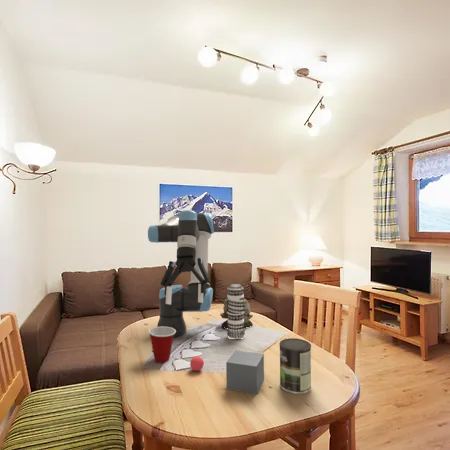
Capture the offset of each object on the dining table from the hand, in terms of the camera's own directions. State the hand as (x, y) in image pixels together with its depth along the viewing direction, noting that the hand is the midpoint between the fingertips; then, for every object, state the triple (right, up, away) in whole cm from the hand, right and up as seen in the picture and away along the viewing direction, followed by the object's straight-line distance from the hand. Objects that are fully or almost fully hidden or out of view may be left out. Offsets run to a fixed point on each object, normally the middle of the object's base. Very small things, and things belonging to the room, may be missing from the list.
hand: (184, 303), depth 117 cm
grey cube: (+22, -25, -11) cm, 35 cm away
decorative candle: (+20, -25, +34) cm, 47 cm away
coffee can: (+39, -25, -12) cm, 47 cm away
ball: (+5, -22, 0) cm, 23 cm away
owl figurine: (+21, -25, +51) cm, 61 cm away
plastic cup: (-10, -25, +9) cm, 29 cm away
